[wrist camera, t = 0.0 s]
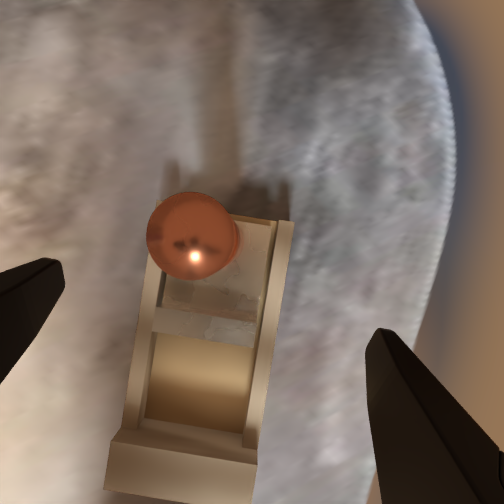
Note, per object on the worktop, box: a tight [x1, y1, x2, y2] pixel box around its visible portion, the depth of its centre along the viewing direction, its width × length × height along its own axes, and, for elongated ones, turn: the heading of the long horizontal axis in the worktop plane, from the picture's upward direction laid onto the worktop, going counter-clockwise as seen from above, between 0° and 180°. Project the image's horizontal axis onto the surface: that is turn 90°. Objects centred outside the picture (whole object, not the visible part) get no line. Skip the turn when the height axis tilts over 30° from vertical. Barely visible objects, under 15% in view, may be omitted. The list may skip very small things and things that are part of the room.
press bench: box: [104, 200, 295, 504], centre depth 22 cm, size 18×9×4 cm, turn 171°
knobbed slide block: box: [146, 192, 272, 348], centre depth 17 cm, size 8×6×11 cm
